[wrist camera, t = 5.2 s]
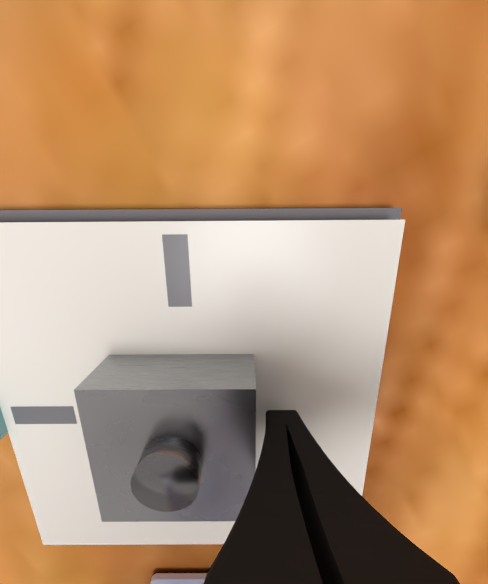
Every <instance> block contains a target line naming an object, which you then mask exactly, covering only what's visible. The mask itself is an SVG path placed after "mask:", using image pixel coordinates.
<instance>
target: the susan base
mask: <svg viewBox="0 0 488 584" xmlns="http://www.w3.org/2000/svg"><path fill="white" fill-rule="evenodd" d="M401 212H402V208H278V209H115V210H0V222H138V221H280V220H400V218H401Z"/></svg>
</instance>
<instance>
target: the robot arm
mask: <svg viewBox="0 0 488 584" xmlns="http://www.w3.org/2000/svg"><path fill="white" fill-rule="evenodd" d="M150 584H460V583H459V582H458V580H457V579H456V577H455V576H454V575H453V574H452V573H451V572H449V571H448V570H447V569H445V568H444V567H443V566H442V565H440V564H439V563H438V562H436V561H435V560H434V559H432V558H431V557H430V556H429V555H427V554H426V553H425V552H423V551H422V550H421V549H419V548H418V547H417V546H416V545H415V544H413V543H412V542H411V541H410V540H409V539H407V538H406V537H405V536H404V535H403V534H402V533H400V532H399V531H398V530H397V529H396V528H395V527H394V526H392V525H391V524H390V523H389V522H388V521H387V520H386V519H385V518H384V517H383V516H382V515H381V514H380V513H379V512H377V511H376V510H375V509H374V508H373V507H372V506H371V505H370V504H369V503H368V502H367V501H366V500H365V499H364V498H363V497H362V496H361V495H360V494H359V493H358V492H357V491H356V489H355V488H354V487H353V486H352V485H351V484H350V483H349V482H348V481H347V480H346V478H345V477H344V476H343V475H342V474H341V473H340V471H339V470H338V469H337V468H336V467H335V465H334V464H333V463H332V462H331V460H330V459H329V458H328V457H327V455H326V454H325V453H324V451H323V450H322V449H321V447H320V446H319V444H318V443H317V442H316V440H315V439H314V437H313V436H312V435H311V433H310V431H309V430H308V428H307V427H306V425H305V424H304V422H303V421H302V419H301V417H300V415H299V414H298V412H297V411H296V410H268V411H267V412H266V427H265V436H264V441H263V446H262V450H261V454H260V458H259V461H258V465H257V468H256V471H255V474H254V477H253V480H252V483H251V486H250V488H249V491H248V493H247V496H246V498H245V501H244V503H243V505H242V508H241V510H240V512H239V515H238V517H237V519H236V521H235V523H234V525H233V527H232V529H231V531H230V533H229V535H228V537H227V539H226V541H225V543H224V545H223V547H222V548H221V550H220V552H219V554H218V555H217V557H216V559H215V561H214V562H213V564H212V566H211V568H210V569H209V571H208V573H156V574H154V575H153V576H152V578H151V582H150Z"/></svg>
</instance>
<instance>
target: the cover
mask: <svg viewBox="0 0 488 584" xmlns="http://www.w3.org/2000/svg"><path fill="white" fill-rule="evenodd" d="M74 394H75V399H76V403H77V408H78V413H79V417H80V422H81V427H82V431H83V436H84V441H85V445H86V450H87V455H88V459H89V464H90V469H91V473H92V478H93V483H94V487H95V492H96V497H97V501H98V506H99V511H100V515H101V520H102V522H189V521H236V519H237V517H238V515H239V512H240V510H241V508H242V505H243V503H244V501H245V498H246V496H247V493H248V491H249V488H250V486H251V483H252V480H253V477H254V474H255V471H256V379H255V365H254V354H136V355H108V356H107V357H106V358H105V359H104V360H103V361H102V362H101V363H100V364H99V365H98V366H97V367H96V368H95V369H94V370H93V371H92V372H91V373H90V374H89V375H88V376H87V377H86V378H85V379H84V380H83V381H82V382H81V383H80V384H79V385H78V386H77V387H76V388H75V389H74Z"/></svg>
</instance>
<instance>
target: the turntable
mask: <svg viewBox="0 0 488 584" xmlns="http://www.w3.org/2000/svg"><path fill="white" fill-rule="evenodd" d="M404 225H405V220H280V221H138V222H0V439H1V438H2V437H3V436H5V435H6V434H7V433H9V436H10V439H11V443H12V446H13V449H14V452H15V455H16V459H17V462H18V465H19V468H20V472H21V475H22V478H23V481H24V484H25V488H26V491H27V494H28V497H29V500H30V504H31V507H32V510H33V513H34V516H35V520H36V523H37V526H38V529H39V533H40V536H41V539H42V542H43V545H149V544H224V543H225V541H226V539H227V537H228V535H229V533H230V531H231V529H232V527H233V525H234V523H235V521H189V522H102V520H101V515H100V511H99V506H98V501H97V497H96V492H95V487H94V483H93V478H92V473H91V469H90V464H89V459H88V455H87V450H86V445H85V441H84V436H83V431H82V427H81V422H80V417H79V413H78V408H77V403H76V399H75V394H74V389H75V388H76V387H77V386H78V385H79V384H80V383H81V382H82V381H83V380H84V379H85V378H86V377H87V376H88V375H89V374H90V373H91V372H92V371H93V370H94V369H95V368H96V367H97V366H98V365H99V364H100V363H101V362H102V361H103V360H104V359H105V358H106V357H107V356H108V355H136V354H254V365H255V379H256V468H257V465H258V461H259V458H260V454H261V450H262V446H263V441H264V436H265V427H266V412H267V411H268V410H296V411H297V412H298V414H299V415H300V417H301V419H302V421H303V422H304V424H305V425H306V427H307V428H308V430H309V431H310V433H311V435H312V436H313V437H314V439H315V440H316V442H317V443H318V444H319V446H320V447H321V449H322V450H323V451H324V453H325V454H326V455H327V457H328V458H329V459H330V460H331V462H332V463H333V464H334V465H335V467H336V468H337V469H338V470H339V471H340V473H341V474H342V475H343V476H344V477H345V478H346V480H347V481H348V482H349V483H350V484H351V485H352V486H353V487H354V488H355V489H356V491H357V492H358V493H359V494H360V495H361V496H362V493H363V487H364V481H365V474H366V468H367V461H368V455H369V449H370V442H371V436H372V429H373V423H374V417H375V410H376V404H377V397H378V391H379V385H380V378H381V372H382V366H383V359H384V353H385V346H386V340H387V334H388V327H389V321H390V314H391V308H392V302H393V295H394V289H395V282H396V276H397V270H398V263H399V257H400V250H401V244H402V238H403V231H404Z"/></svg>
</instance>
